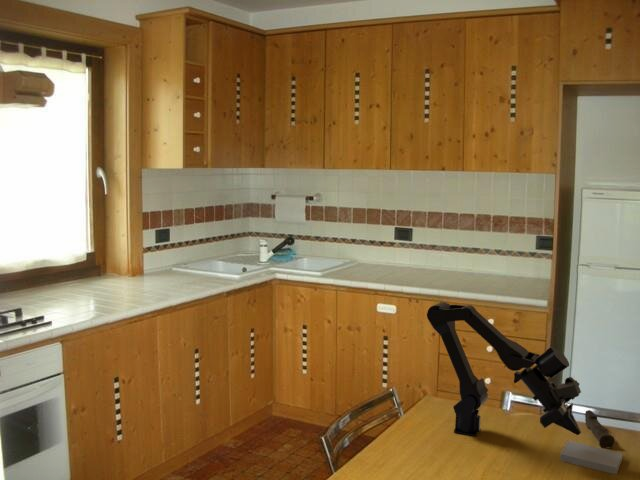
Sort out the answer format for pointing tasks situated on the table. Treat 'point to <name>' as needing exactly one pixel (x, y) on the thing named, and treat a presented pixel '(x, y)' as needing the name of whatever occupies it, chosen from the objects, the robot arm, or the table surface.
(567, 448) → the tile
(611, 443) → the dark brown rough rod
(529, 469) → the table surface
